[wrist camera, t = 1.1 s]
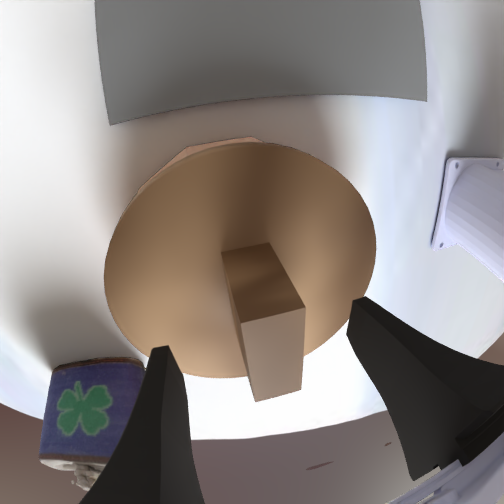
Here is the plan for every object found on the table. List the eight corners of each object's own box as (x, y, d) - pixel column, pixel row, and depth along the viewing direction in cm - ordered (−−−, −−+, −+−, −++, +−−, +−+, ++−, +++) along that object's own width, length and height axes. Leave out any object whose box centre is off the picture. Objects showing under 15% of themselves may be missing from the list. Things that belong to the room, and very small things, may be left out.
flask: (62, 382, 20) (50, 489, 11) (44, 363, 18) (25, 476, 10) (150, 373, 21) (159, 497, 12) (137, 351, 20) (140, 488, 11)
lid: (374, 131, 11) (458, 164, 7) (350, 333, 18) (385, 390, 14) (68, 181, 9) (9, 244, 5) (157, 380, 16) (162, 450, 12)
